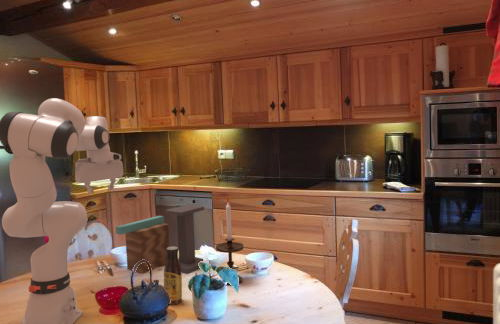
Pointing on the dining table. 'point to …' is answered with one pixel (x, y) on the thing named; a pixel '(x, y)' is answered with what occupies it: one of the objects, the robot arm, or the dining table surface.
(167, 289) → the sauce bottle
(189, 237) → the dark grey pedestal stand
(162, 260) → the walnut block
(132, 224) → the teal rod
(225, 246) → the candlestick
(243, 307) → the dining table surface
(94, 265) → the dining table surface
